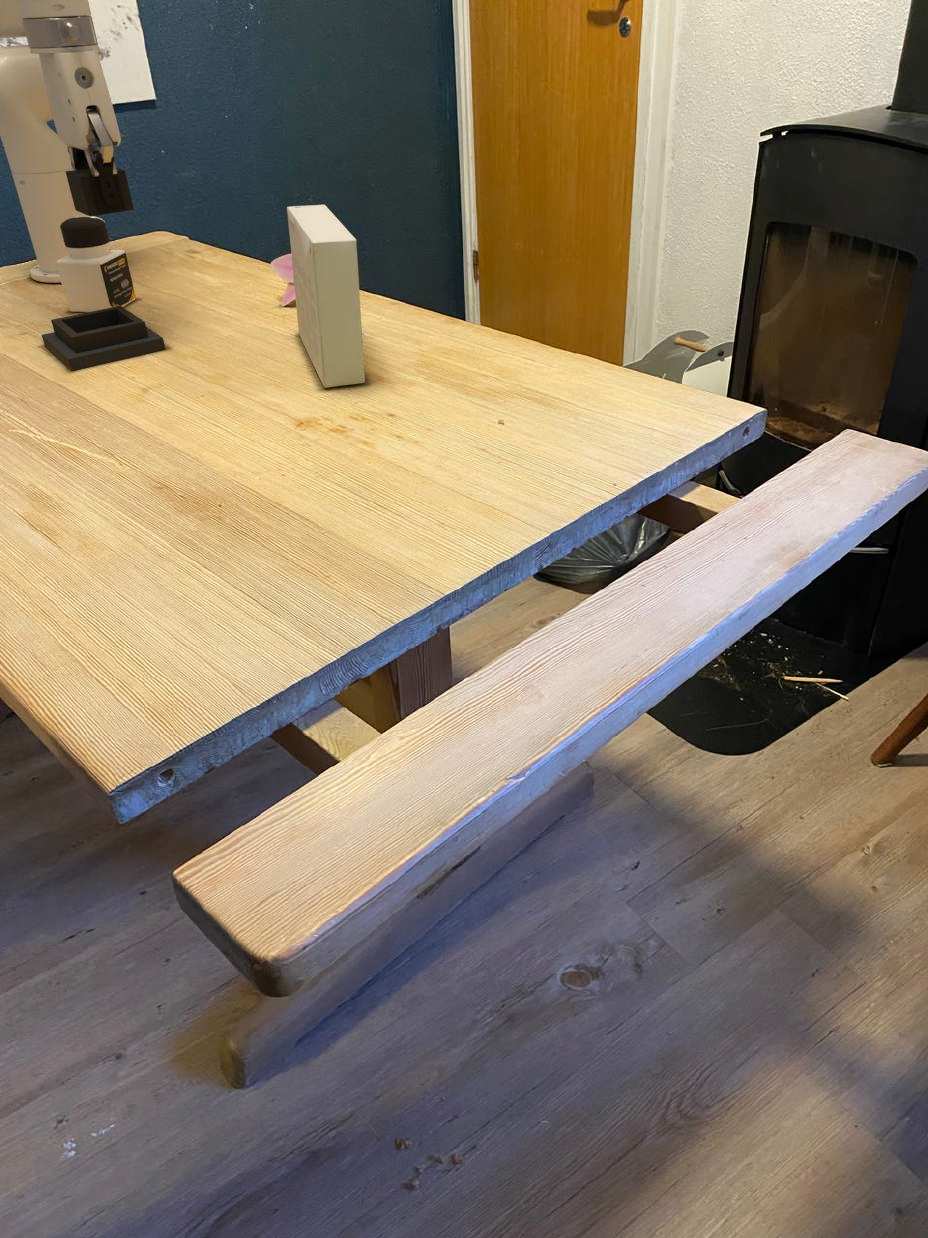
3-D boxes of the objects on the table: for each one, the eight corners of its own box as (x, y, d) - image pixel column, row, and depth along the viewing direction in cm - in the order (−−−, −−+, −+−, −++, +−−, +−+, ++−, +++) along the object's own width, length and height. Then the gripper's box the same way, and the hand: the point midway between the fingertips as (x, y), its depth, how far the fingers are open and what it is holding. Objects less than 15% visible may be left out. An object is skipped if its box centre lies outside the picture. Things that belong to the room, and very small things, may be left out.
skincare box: (370, 384, 104) (357, 238, 95) (324, 390, 103) (306, 243, 94) (338, 329, 121) (325, 201, 112) (298, 334, 120) (281, 204, 111)
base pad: (44, 345, 119) (36, 319, 117) (133, 326, 124) (127, 300, 122) (71, 370, 111) (63, 342, 109) (165, 349, 116) (159, 321, 114)
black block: (75, 210, 114) (65, 170, 112) (118, 203, 117) (109, 165, 115) (89, 216, 111) (79, 176, 108) (134, 209, 113) (125, 170, 111)
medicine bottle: (113, 313, 130) (90, 224, 123) (68, 312, 131) (43, 223, 124) (137, 299, 135) (117, 213, 128) (94, 297, 137) (72, 212, 130)
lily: (275, 301, 136) (247, 250, 128) (341, 259, 137) (317, 207, 128) (307, 346, 130) (280, 296, 122) (376, 302, 131) (354, 250, 122)
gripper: (119, 35, 99) (157, 212, 110) (71, 33, 111) (109, 194, 121) (50, 39, 96) (96, 222, 106) (7, 37, 107) (52, 202, 118)
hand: (102, 205), depth 114 cm, fingers closed on black block, 5 cm apart
